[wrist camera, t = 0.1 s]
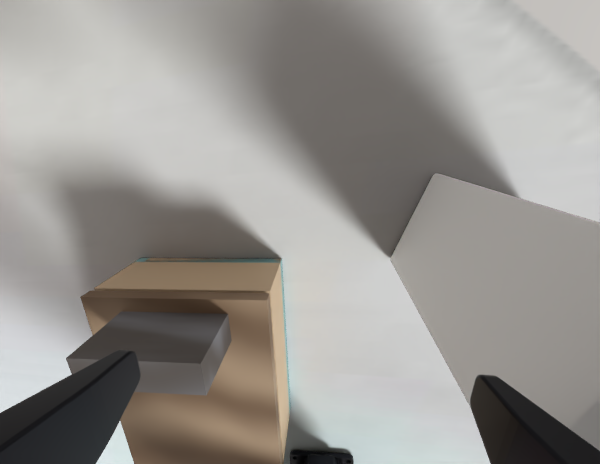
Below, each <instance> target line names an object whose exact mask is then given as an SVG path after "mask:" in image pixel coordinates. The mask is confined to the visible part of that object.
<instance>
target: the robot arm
mask: <svg viewBox="0 0 600 464" xmlns="http://www.w3.org/2000/svg"><path fill="white" fill-rule="evenodd" d="M140 377H141V372H140V368H139V363H138V359H137V354H136V352H135V351H133V350H123V349H121V350H117V351H115V352H113V353H111V354H109V355H108V356H106V357H104V358H102V359H100V360H98V361H96V362H94V363H93V364H91V365H89V366H87V367H85V368H83V369H81V370H80V371H78V372H76V373H74V374H72V375H70V376H68V377H67V378H65V379H63V380H61V381H59V382H57V383H55V384H53V385H52V386H50V387H48V388H46V389H44V390H42V391H40V392H39V393H37V394H35V395H33V396H31V397H29V398H27V399H25V400H24V401H22V402H20V403H18V404H16V405H14V406H12V407H11V408H9V409H7V410H5V411H3V412H1V413H0V464H96V462H97V460H98V459H99V457H100V456H101V454H102V452H103V451H104V449H105V447H106V445H107V444H108V442H109V440H110V438H111V436H112V435H113V433H114V431H115V429H116V427H117V425H118V423H119V421H120V419H121V417H122V415H123V413H124V411H125V409H126V407H127V405H128V403H129V401H130V399H131V397H132V395H133V393H134V391H135V390H136V388H137V386H138V384H139V381H140ZM470 406H471V410H472V413H473V415H474V418H475V421H476V424H477V427H478V429H479V432H480V435H481V438H482V441H483V443H484V446H485V449H486V452H487V455H488V457H489V460H490V463H491V464H600V451H599V450H598V449H597V448H595V447H594V446H593V445H591V444H590V443H588V442H587V441H586V440H584V439H583V438H581V437H580V436H579V435H577V434H576V433H575V432H573V431H572V430H570V429H569V428H568V427H566V426H565V425H564V424H562V423H561V422H559V421H558V420H557V419H555V418H554V417H553V416H551V415H550V414H548V413H547V412H546V411H544V410H543V409H542V408H540V407H539V406H537V405H536V404H535V403H533V402H532V401H531V400H529V399H528V398H526V397H525V396H524V395H522V394H521V393H519V392H518V391H517V390H515V389H514V388H513V387H511V386H510V385H508V384H507V383H506V382H504V381H503V380H502V379H500V378H499V377H497V376H494V375H482V374H480V375H478V376H477V377H476V379H475V382H474V386H473V390H472V393H471V397H470ZM290 464H353V456H352V455H350V454H340V453H325V452H309V451H292V452H291V453H290Z"/></svg>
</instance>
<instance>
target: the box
mask: <svg viewBox="0 0 600 464" xmlns="http://www.w3.org/2000/svg"><path fill="white" fill-rule="evenodd" d="M94 290H95V291H149V292H215V293H269V294H270V307H271V320H272V333H273V346H274V359H275V372H276V385H277V398H278V411H279V424H280V437H281V450H282V463H284V455H285V447H286V439H287V431H288V423H289V415H290V392H289V374H288V357H287V340H286V323H285V306H284V289H283V271H282V259H265V258H140V259H138V260H137V261H135V262H134V263H132V264H131V265H129V266H128V267H126V268H124V269H123V270H121V271H120V272H118V273H117V274H115V275H114V276H112V277H111V278H109V279H108V280H106V281H104V282H103V283H101V284H100V285H98V286H97V287H95V288H94Z"/></svg>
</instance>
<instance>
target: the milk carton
mask: <svg viewBox="0 0 600 464" xmlns="http://www.w3.org/2000/svg"><path fill="white" fill-rule="evenodd" d="M391 262H392V264H393V266H394V268H395V270H396V271H397V273H398V275H399V277H400V279H401V281H402V282H403V284H404V286H405V288H406V290H407V292H408V293H409V295H410V297H411V299H412V301H413V303H414V304H415V306H416V308H417V310H418V312H419V314H420V315H421V317H422V319H423V321H424V323H425V325H426V326H427V328H428V330H429V332H430V334H431V336H432V337H433V339H434V341H435V343H436V345H437V347H438V348H439V350H440V352H441V354H442V356H443V358H444V359H445V361H446V363H447V365H448V367H449V369H450V370H451V372H452V374H453V376H454V378H455V380H456V381H457V383H458V385H459V387H460V389H461V391H462V393H463V394H464V396H465V398H466V400H467V402H468V404H469V405H470V397H471V393H472V390H473V386H474V382H475V379H476V377H477V376H478V375H480V374H482V375H494V376H497V377H499V378H500V379H502V380H503V381H504V382H506V383H507V384H508V385H510V386H511V387H513V388H514V389H515V390H517V391H518V392H519V393H521V394H522V395H524V396H525V397H526V398H528V399H529V400H531V401H532V402H533V403H535V404H536V405H537V406H539V407H540V408H542V409H543V410H544V411H546V412H547V413H548V414H550V415H551V416H553V417H554V418H555V419H557V420H558V421H559V422H561V423H562V424H564V425H565V426H566V427H568V428H569V429H570V430H572V431H573V432H575V433H576V434H577V435H579V436H580V437H581V438H583V439H584V440H586V441H587V442H588V443H590V444H591V445H593V446H594V447H595V448H597V449H598V450H599V451H600V223H599V222H596V221H593V220H590V219H586V218H583V217H580V216H576V215H573V214H570V213H567V212H563V211H560V210H557V209H553V208H550V207H547V206H544V205H540V204H537V203H534V202H530V201H527V200H524V199H521V198H517V197H514V196H511V195H508V194H504V193H501V192H498V191H494V190H491V189H488V188H485V187H481V186H478V185H475V184H471V183H468V182H465V181H462V180H458V179H455V178H452V177H448V176H445V175H442V174H439V173H435V174H434V175H433V176H432V178H431V180H430V182H429V184H428V186H427V188H426V190H425V192H424V194H423V196H422V197H421V199H420V201H419V203H418V205H417V207H416V209H415V211H414V213H413V215H412V217H411V219H410V221H409V223H408V225H407V227H406V229H405V231H404V233H403V235H402V237H401V239H400V241H399V243H398V244H397V246H396V248H395V250H394V252H393V254H392V257H391ZM470 407H471V406H470Z"/></svg>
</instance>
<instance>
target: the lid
mask: <svg viewBox="0 0 600 464" xmlns="http://www.w3.org/2000/svg"><path fill="white" fill-rule="evenodd" d="M81 300H82V303H83V307H84V310H85V313H86V316H87V319H88V322H89V325H90V328H91V331H92V334H93V336H92V337H91V338H89V339H88V340H87V341H86V342H85V343H84V344H82V345H81V346H80V347H79V348H78V349H77V350H75V351H74V352H73V353H72V354H71V355H69V356H68V357H67V358H66V360H67V362H68V365H69V368H70V370H71V373H72V374H74V373H76V372H78V371H80V370H81V369H83V368H85V367H87V366H89V365H91V364H93V363H94V362H96V361H98V360H100V359H102V358H104V357H106V356H108V355H109V354H111V353H113V352H115V351H117V350H121V349H123V350H133V351H135V352H136V354H137V359H138V363H139V368H140V372H141V377H140V381H139V384H138V386H137V388H136V390H135V391H134V393H133V395H132V397H131V399H130V401H129V403H128V405H127V407H126V409H125V411H124V413H123V415H122V417H121V419H120V421H121V424H122V427H123V430H124V433H125V436H126V439H127V442H128V445H129V448H130V452H131V455H132V458H133V461H134V464H283V463H282V450H281V437H280V424H279V411H278V398H277V385H276V372H275V359H274V346H273V333H272V320H271V307H270V294H269V293H215V292H149V291H89V292H88V293H86V294H85V295H83V296H81Z"/></svg>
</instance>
